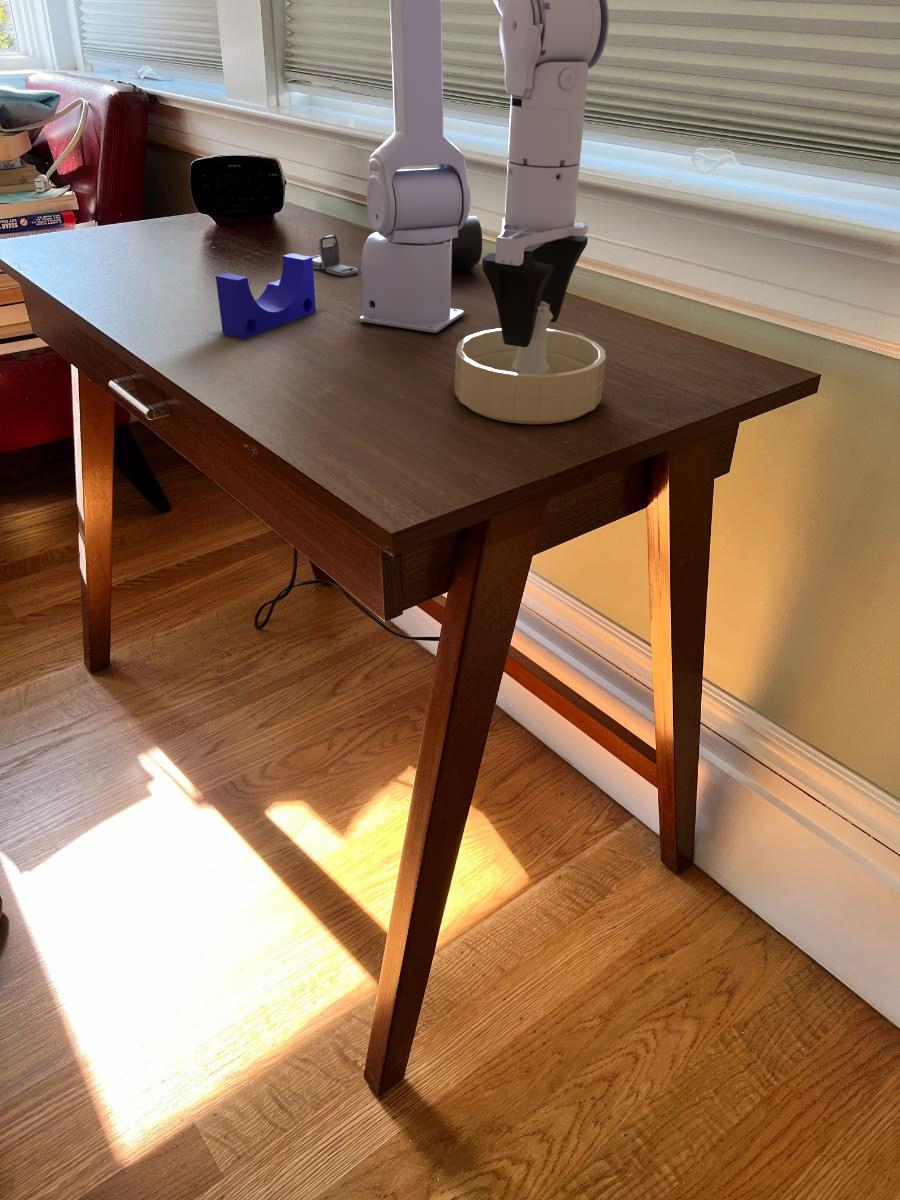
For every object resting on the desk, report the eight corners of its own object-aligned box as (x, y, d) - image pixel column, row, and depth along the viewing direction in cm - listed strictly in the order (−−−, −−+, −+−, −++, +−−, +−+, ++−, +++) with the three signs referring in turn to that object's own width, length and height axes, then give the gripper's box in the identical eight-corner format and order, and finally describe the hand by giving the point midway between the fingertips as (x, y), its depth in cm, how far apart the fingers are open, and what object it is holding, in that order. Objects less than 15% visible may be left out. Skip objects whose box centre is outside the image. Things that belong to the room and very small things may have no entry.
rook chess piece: (550, 404, 80) (558, 313, 76) (500, 399, 81) (505, 309, 77) (555, 386, 84) (563, 299, 79) (508, 382, 85) (513, 295, 80)
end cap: (407, 279, 116) (407, 223, 112) (395, 266, 122) (394, 212, 118) (482, 275, 119) (484, 220, 115) (466, 262, 124) (467, 209, 120)
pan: (431, 411, 80) (432, 361, 77) (486, 365, 90) (488, 319, 87) (575, 437, 76) (580, 386, 73) (616, 386, 86) (622, 339, 83)
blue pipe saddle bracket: (285, 305, 106) (281, 251, 102) (315, 311, 104) (312, 257, 101) (212, 331, 97) (204, 273, 94) (243, 338, 95) (237, 280, 92)
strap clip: (300, 265, 121) (297, 231, 119) (317, 261, 123) (315, 228, 121) (343, 277, 117) (341, 242, 114) (360, 273, 118) (359, 238, 116)
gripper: (564, 180, 65) (548, 364, 73) (616, 153, 76) (598, 315, 84) (473, 171, 67) (467, 351, 75) (536, 147, 78) (526, 305, 86)
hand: (531, 332), depth 79 cm, fingers open, 7 cm apart
